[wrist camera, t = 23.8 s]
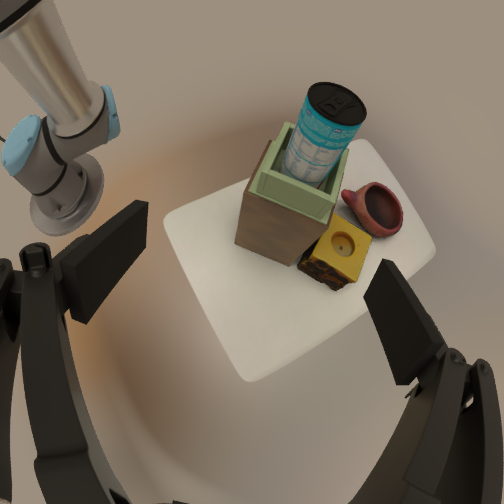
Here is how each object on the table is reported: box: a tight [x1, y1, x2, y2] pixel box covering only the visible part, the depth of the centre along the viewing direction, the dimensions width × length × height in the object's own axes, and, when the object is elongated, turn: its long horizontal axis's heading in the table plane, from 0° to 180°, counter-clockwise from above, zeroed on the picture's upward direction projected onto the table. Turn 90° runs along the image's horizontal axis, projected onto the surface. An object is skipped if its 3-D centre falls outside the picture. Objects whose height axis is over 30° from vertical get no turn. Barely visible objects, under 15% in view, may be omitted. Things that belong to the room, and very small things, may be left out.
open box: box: [248, 122, 349, 225], centre depth 34 cm, size 11×10×5 cm
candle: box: [297, 212, 372, 291], centre depth 52 cm, size 10×10×10 cm
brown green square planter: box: [235, 140, 344, 266], centre depth 47 cm, size 12×10×22 cm
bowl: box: [341, 182, 403, 237], centre depth 57 cm, size 16×13×8 cm
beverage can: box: [279, 82, 367, 189], centre depth 29 cm, size 6×6×15 cm
